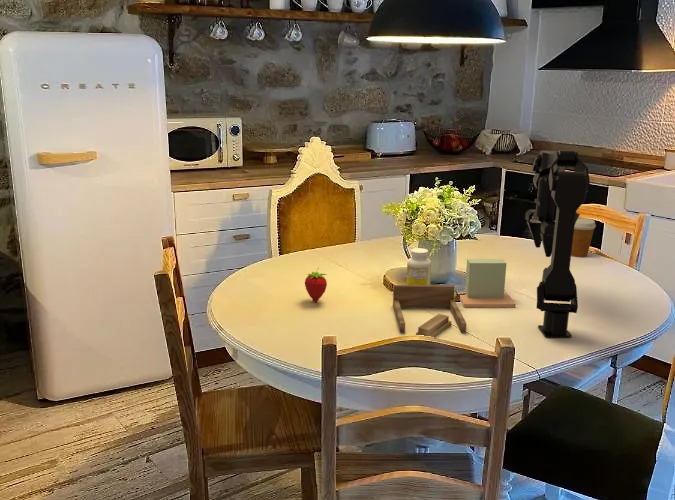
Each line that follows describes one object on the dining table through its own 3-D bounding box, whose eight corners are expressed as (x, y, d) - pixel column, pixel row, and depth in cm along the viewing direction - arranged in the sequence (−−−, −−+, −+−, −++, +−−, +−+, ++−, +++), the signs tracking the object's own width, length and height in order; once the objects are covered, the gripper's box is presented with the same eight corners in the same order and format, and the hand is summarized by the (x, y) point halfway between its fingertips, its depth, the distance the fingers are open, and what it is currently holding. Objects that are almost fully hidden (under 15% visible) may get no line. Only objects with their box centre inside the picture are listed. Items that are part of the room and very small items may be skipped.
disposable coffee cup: (557, 251, 234) (560, 218, 230) (580, 249, 236) (584, 216, 233) (574, 259, 225) (578, 224, 222) (598, 257, 228) (602, 223, 224)
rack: (465, 332, 165) (467, 309, 164) (400, 332, 165) (400, 309, 163) (452, 305, 183) (453, 285, 181) (392, 305, 182) (393, 284, 181)
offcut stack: (452, 327, 170) (452, 316, 169) (427, 342, 161) (428, 330, 160) (439, 323, 172) (440, 312, 171) (414, 338, 163) (415, 326, 162)
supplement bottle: (414, 287, 197) (416, 245, 193) (434, 293, 193) (436, 249, 189) (401, 293, 192) (403, 250, 188) (421, 299, 188) (423, 255, 184)
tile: (515, 307, 182) (515, 304, 182) (463, 307, 182) (464, 304, 182) (502, 290, 195) (502, 286, 195) (454, 289, 195) (454, 286, 195)
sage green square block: (503, 297, 186) (506, 263, 184) (467, 297, 186) (469, 263, 183) (500, 292, 190) (502, 258, 188) (464, 292, 190) (467, 258, 187)
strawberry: (322, 296, 189) (322, 262, 186) (330, 305, 182) (330, 270, 180) (301, 298, 187) (301, 264, 185) (309, 307, 181) (309, 272, 178)
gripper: (590, 204, 174) (583, 262, 178) (565, 190, 192) (560, 243, 196) (547, 204, 174) (542, 262, 178) (527, 190, 192) (522, 242, 196)
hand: (542, 252), depth 187 cm, fingers open, 9 cm apart
